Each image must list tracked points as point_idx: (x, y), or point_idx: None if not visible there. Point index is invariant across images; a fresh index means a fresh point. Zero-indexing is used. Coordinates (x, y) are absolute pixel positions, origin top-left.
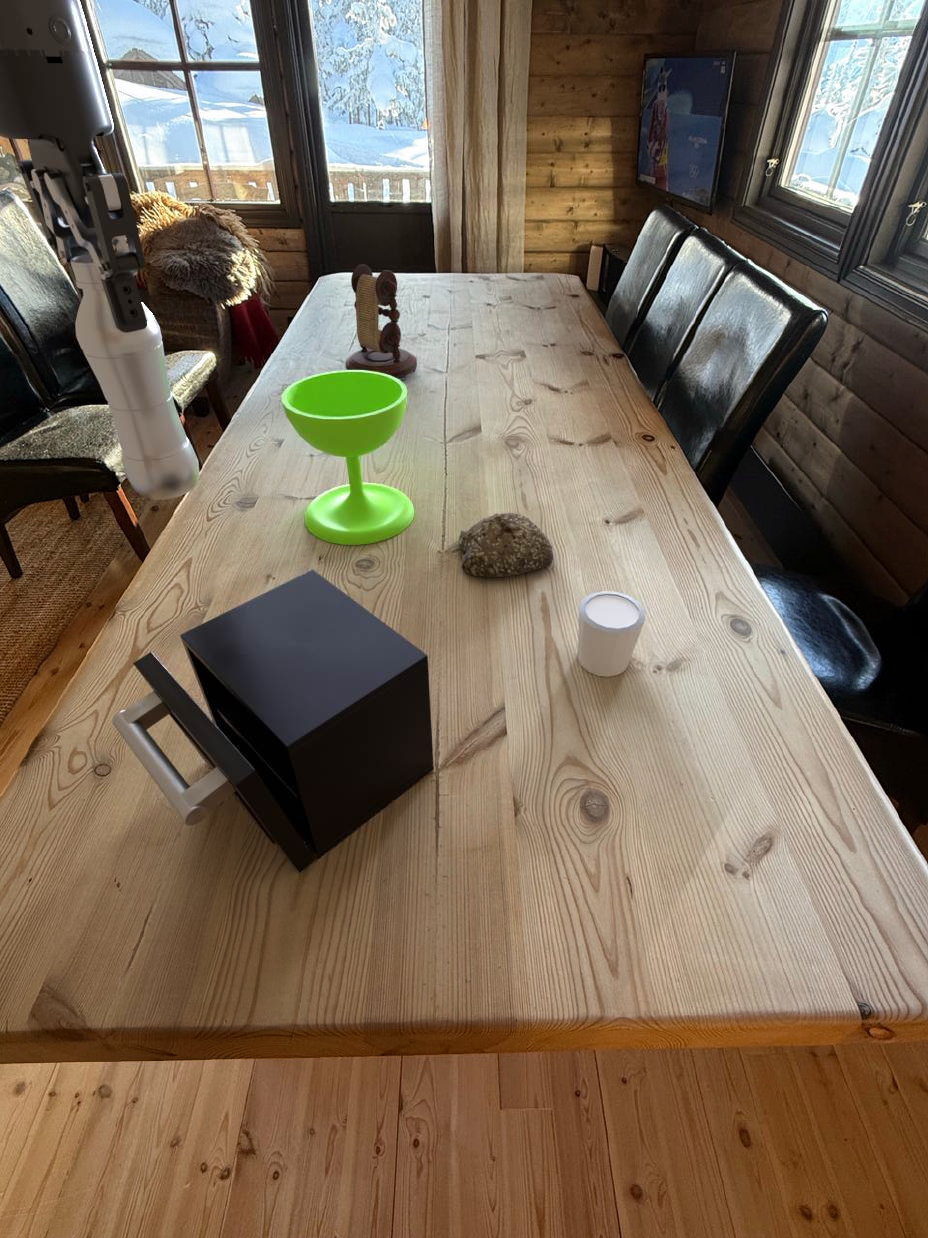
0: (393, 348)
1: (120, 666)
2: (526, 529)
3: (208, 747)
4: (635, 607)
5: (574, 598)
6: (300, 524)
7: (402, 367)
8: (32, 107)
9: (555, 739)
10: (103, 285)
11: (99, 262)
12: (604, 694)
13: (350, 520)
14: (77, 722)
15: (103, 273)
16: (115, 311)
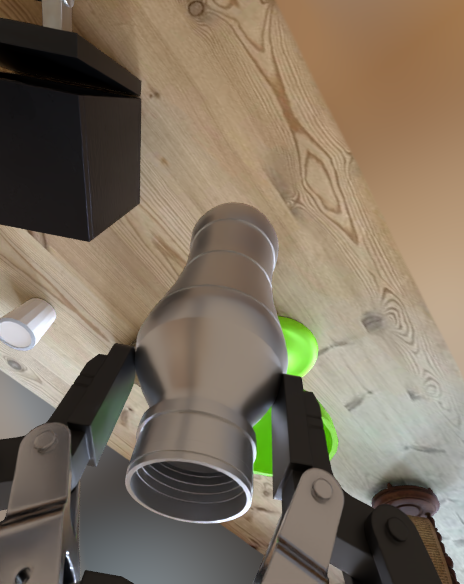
0: None
1: (293, 104)
2: (135, 379)
3: None
4: (9, 343)
5: (91, 345)
6: (305, 322)
7: (378, 503)
8: None
9: (7, 244)
10: (90, 412)
11: (22, 461)
12: (18, 288)
13: None
14: (264, 27)
15: (36, 435)
16: (100, 369)
